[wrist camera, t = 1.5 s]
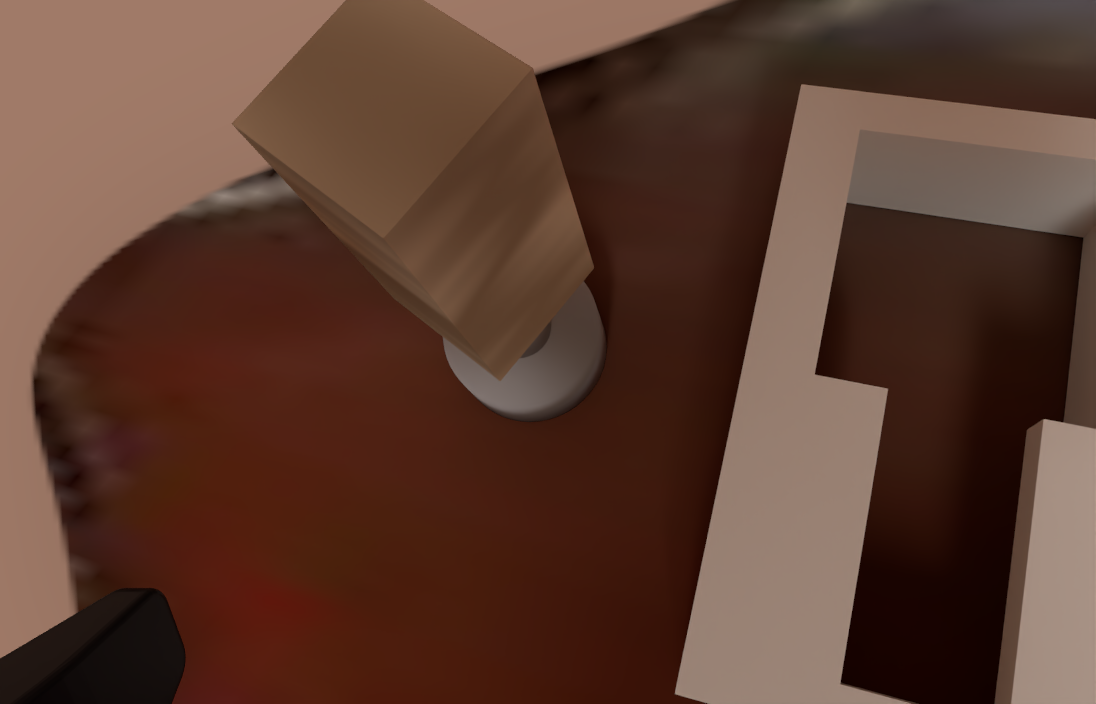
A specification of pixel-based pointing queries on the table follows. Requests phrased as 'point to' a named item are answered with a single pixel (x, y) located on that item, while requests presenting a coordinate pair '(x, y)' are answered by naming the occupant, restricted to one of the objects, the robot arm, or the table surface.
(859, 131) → the keyhole block
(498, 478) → the table surface
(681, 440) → the table surface
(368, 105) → the maple peg
